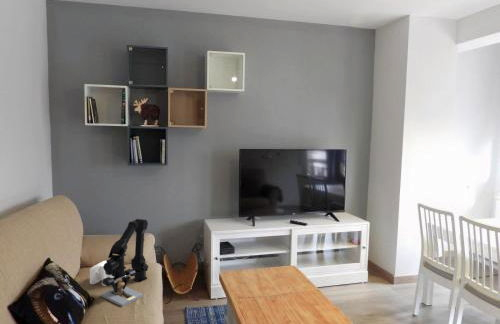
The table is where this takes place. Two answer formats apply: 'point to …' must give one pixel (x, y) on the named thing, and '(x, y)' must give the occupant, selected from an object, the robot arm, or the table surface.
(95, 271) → the cable organizer
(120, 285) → the peg
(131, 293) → the keyhole board
